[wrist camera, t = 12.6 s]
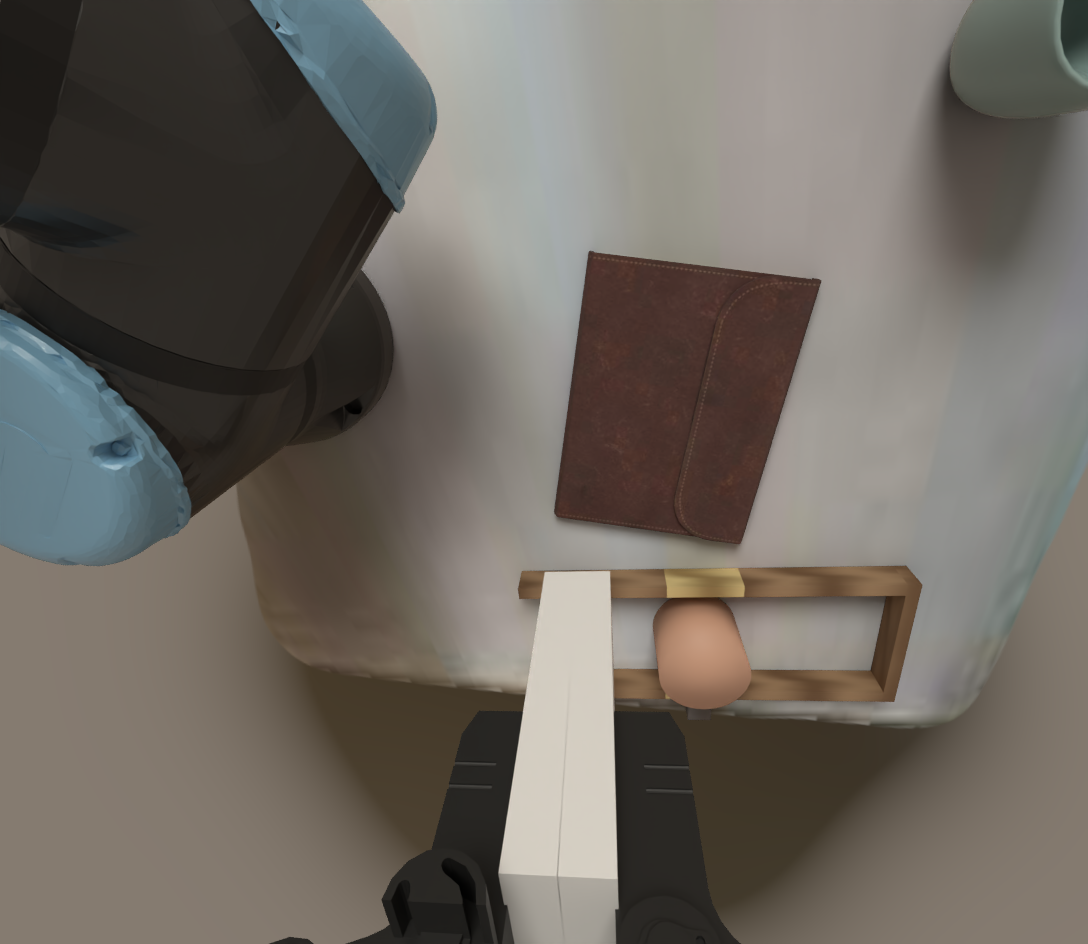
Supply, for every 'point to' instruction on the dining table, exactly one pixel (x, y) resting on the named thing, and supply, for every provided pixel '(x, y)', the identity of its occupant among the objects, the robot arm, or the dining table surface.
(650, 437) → the notebook
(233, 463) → the robot arm
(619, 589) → the track
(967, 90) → the cup
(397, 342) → the dining table surface
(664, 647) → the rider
